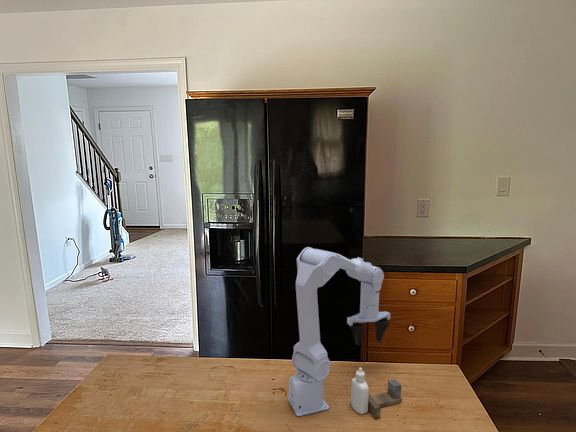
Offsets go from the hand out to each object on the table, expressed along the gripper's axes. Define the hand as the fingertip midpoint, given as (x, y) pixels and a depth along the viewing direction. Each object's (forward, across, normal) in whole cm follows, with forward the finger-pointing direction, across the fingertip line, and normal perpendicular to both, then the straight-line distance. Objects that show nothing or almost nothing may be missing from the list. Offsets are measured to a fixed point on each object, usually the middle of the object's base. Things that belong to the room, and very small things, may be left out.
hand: (368, 342), depth 124 cm
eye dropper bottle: (+10, +12, +16) cm, 22 cm away
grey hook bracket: (+9, +5, +16) cm, 19 cm away
